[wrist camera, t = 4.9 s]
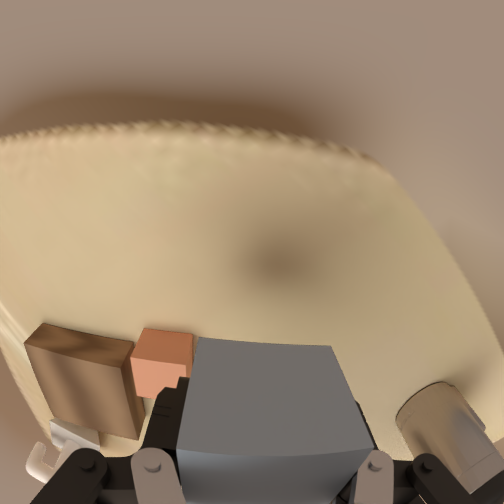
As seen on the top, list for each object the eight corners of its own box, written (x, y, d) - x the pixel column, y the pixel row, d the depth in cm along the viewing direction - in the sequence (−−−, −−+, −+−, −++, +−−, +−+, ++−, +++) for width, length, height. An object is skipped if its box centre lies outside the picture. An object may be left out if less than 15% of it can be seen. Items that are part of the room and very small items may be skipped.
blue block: (330, 345, 11) (374, 447, 6) (302, 425, 12) (321, 512, 7) (198, 336, 10) (175, 448, 5) (197, 421, 12) (186, 511, 7)
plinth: (133, 342, 25) (120, 368, 21) (145, 415, 28) (138, 440, 24) (42, 323, 24) (23, 342, 20) (65, 395, 27) (53, 416, 23)
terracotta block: (192, 333, 25) (185, 365, 20) (192, 370, 26) (187, 403, 22) (144, 327, 24) (130, 357, 20) (148, 365, 26) (137, 395, 21)
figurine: (52, 398, 27) (8, 479, 13) (115, 429, 29) (86, 522, 15) (54, 423, 29) (19, 496, 15) (110, 451, 31) (86, 530, 16)
